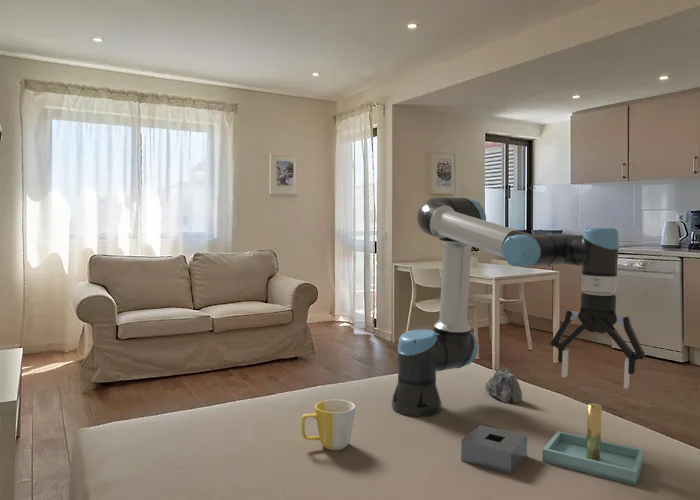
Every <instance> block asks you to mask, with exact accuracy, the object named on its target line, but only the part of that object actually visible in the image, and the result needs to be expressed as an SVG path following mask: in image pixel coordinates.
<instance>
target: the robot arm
mask: <svg viewBox="0 0 700 500" xmlns="http://www.w3.org/2000/svg"><path fill="white" fill-rule="evenodd" d="M416 218H417V220H416V221H417V224H418V227H419V229H420V230H421V231H422V232H424V233H425V235H429V236H432V237H433V238H434V237H435V238H437V239H438V241H439V242H440V244H442V245H443V251H442V252H443V253H442V268H441V286H440V287H441V288H440V300H439V303H440V304H439V320H438V321H437V322H435V323H434V324H433V330H431V329H424V328H423V329H412V330H408V331H406V332H404V333H402V334H401V335H400V336H399V338H398V344H397V345H398V346H397V384H396V387H395V390H394V392H393V395H392V399H391V408H392V409H393V410H394V411H395V412H396V413H399V414H402V415H404V416H405V415H406V416H411V417H412V416H413V417H429V416H434V415H437V414H439V413H441V411H442V400H441V396H440V393H439V390H438V386H437V372H442V371H446V370H447V371H448V370H452V369H461V368H463V367H466V366H469V365H470V364H472V363H473V361H475V359H476V357H477V353H478V349H479V344H478V341H477V339H476V336H475V334H474V333H473V332H472V327H471V325H470V324H469V323H468V308H469V307H468V306H469V291H470V290H469V289H470V275H471V274H470V273H471V261H472V259H471V258H472V248H475V249H478V250H481V251H484V252H486V253H490V254H493V255H495V256H498V257H500V258H503V259H504V260H505V262H506V263H507V264H508V265H510V266H512V267H518V268H519V267H520V268H528V267H538V266H539V267H541V266H555V265H556V266H557V265H558V266H559V265H561V266H562V265H565V266H567V265H568V266H577V267H581V288H580V289H581V291H583V292H582V293H580V294H581V295H580V309H579V311H574V310H573V309H569V310H567V311H566V312H565V317H564V321H563V322H562V323H561V325H560V327H558V328H559V329H558V330H557V332H556V334H555V335H554V337H553V339H552V340H551V342H550V345H551V347H554V348H556V349H557V351H558V352H557V353H558V354H557V361H558V363H562V364H561V378H566V377H568V374H569V370H568V369H569V354H570V353H569V349H568V348H567V346H568V345H570V343H572V342H573V341H574V340H575V339H576V338H577V337H578V336H579V335H581V333H583V331H585V330H586V331H588V332H591V333H595V332H596V333H599V334H605V333H607V334H608V335H609V337H611V339H612V340H613V341H614V342H615V344H616V345H617V346H618V347H619V349H620V350H621V351H622V352H623V353H624V355H625V356H626V358H625V359H624V372H623V373H624V374H623V389H627V390H628V388H629V387H630V375H634V374H635V371H636V361H637V360H643V359H644V358H645V356H646V353H645V351H644V349H643V346H642V345H641V343H640V341H639V339H638V337H637V335H636V332H635V330H634V328H633V327H632V321H631V316H629V315H625V316H617V314H616V307H617V296H616V295H615V293H616V292H617V290H618V289H617V286H618V260H619V249H620V245H619V244H620V243H619V242H620V241H619V231H618V230H617V229H616V228H614V227H591V226H590V227H585V228H584V230H583V233H582V234H579V235H578V234H568V233H567V234H565V233H546V234H531V233H528V232H523V231H521V230H517V229H514V228H510V227H507V226H505V225H501V224H497V223H494V222H491V221H488V220H487V215H486V212H485V209H484V207H483V206H482V205H481V204H480V202H479V201H477V200H476V199H473V198H472V199H471V198H465V197H442V196H441V197H439V196H436V197H433V198H429V199H427V200H425V201H424V202H423V203H421V205H420V207H419V209H418V210H417V215H416ZM576 318H578V319H579V321H580V322H581V324H580V325H579V326H578V327H577V328H576V329H575V330H574V331H573V332H571V334H570V335H569V336H568V337H566V339H563V341H562V342H560V341H561V339H562V338H563V336H564V334H565V333H566V331H567V329H568V327H570V324H571V323H572V321H574V320H575V319H576ZM616 323H619V325H620V326H621V327H623V329H624V331H625V333H626V336H627V338H628V339H629V342H630V343H631V347H632V348H633V350H634V351H633V350H632V348H631V347H630V346H629V345H628V343H626V341H625V339H624V338H623V337H622V336H621V334H620V333H618V331H617V329H616V328H615V326H614V325H615V324H616Z"/></svg>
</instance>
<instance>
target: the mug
mask: <svg viewBox="0 0 700 500" xmlns="http://www.w3.org/2000/svg"><path fill="white" fill-rule="evenodd" d="M314 409H315V410H314V411H315V413H304V414H303V415H302V416H301V420H300V421H301V427H300V430H301V437H302V438H303V439H304V440H307V441H319V442H320V443H321V445H322V447H324V448H325V449H327V450H330V451H341V450H343V449H345V448H346V447H347V446H348V445H349V444H350V442H351V439H352V430H353V425H354V424H353V423H354V420H355V413H356V405H355V404H354V403H353V402H351V401H348V400H343V399H328V400H327V399H326V400H322V401H319V402H317V403H316V404H315V406H314ZM308 418H313V419H315V420H316V425H317V430H318V435H311V436H310V435H306V431H305V424H306V422H305V421H306V419H308Z"/></svg>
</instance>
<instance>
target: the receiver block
mask: <svg viewBox="0 0 700 500" xmlns="http://www.w3.org/2000/svg"><path fill="white" fill-rule="evenodd" d="M460 451H461V452H460V453H461V455H460V460H461V461H462V462H465V463H469V464H471V465H476V466H479V467H483V468H486V469H490V470H494V471H497V472H500V473H504V474H508V475H512V474H513V473H514V471H515V470H516V469H517V468H518V466H520V465H521V463H522V462H523V461H524V460H525V458H527V456H528V435H525V434H521V433H516V432H513V431H510V430H509V431H508V430H504V429H500V428H495V427H490V426H487V425H483V424H480V425H478V426H477V427H476V428H475V429H474V430H472V431H470V433H468V434H467V435H466V436H465V437H464V438H462V439H461V450H460Z"/></svg>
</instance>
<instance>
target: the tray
mask: <svg viewBox="0 0 700 500" xmlns="http://www.w3.org/2000/svg"><path fill="white" fill-rule="evenodd" d="M586 451H587V436H583V435H580V434H579V435H578V434H574V433H570V432H565V431H559V430H557V431H556V432H555V434H553V436H552V437H551V438H550V440H549V441H548V442H547V443H546V445H545V446H544V447H543V448H542V457H541V459H542V462H543V463H547V464H549V465H554V466H558V467H562V468H566V469H568V470H569V469H570V470H573V471H574V470H575V471H578V472H583V473H585V474H589V475H593V476H597V477H601V478H605V479H609V480H612V481H617V482H620V483H625V484H628V485H632V486H637V484H638V482H639V478H640V476H641V473H642V470H643V467H644V465H643V464H644V463H645V457H646V455H645V452H646V451H645V449H641V448H637V447H634V446H629V445H624V444H620V443H614V442H611V441H605V440H601V444H600V461H596V460H592V459H588V458H586Z"/></svg>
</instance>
